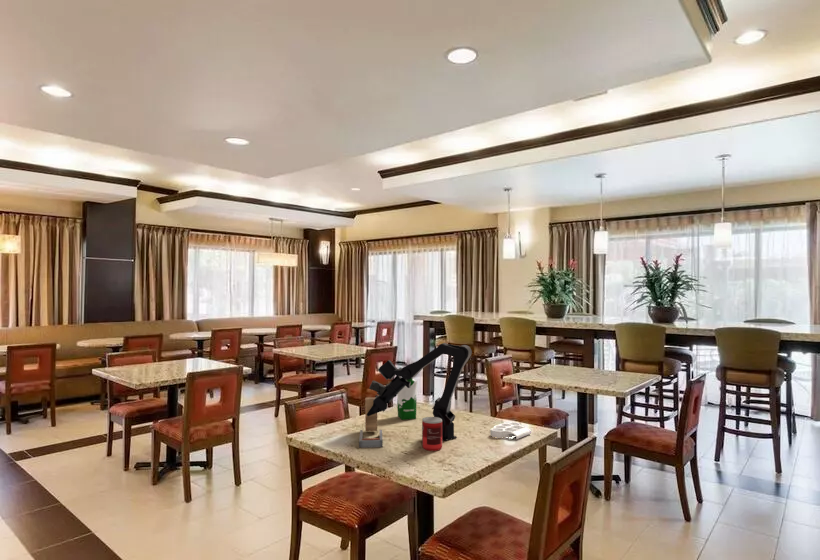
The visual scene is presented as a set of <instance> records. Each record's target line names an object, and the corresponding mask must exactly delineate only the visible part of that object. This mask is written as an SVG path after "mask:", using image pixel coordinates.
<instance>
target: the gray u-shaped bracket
mask: <svg viewBox="0 0 820 560" xmlns="http://www.w3.org/2000/svg"><path fill="white" fill-rule="evenodd" d="M363 435H364V430H363V429H360V430H359V439H358V440H359V441H358V448H360V447H361V448H384V447H383V446H384V444H383V442H384V440H383V429H379V438H378V437H375V438H374V437H373V438H367V437H366V438H365V437H363Z"/></svg>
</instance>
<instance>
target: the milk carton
mask: <svg viewBox="0 0 820 560" xmlns="http://www.w3.org/2000/svg"><path fill="white" fill-rule="evenodd" d="M407 381H408V382H411V383H410V386H411V387H410V388H407V387H406V386H405V387H404V388H403V389H402V390H401V391H400V392H399V393H398V394H397V396H396V398H397V399H396V400H397V403H396V404H397V406H396V407H397V417H398V418H399V419H400V420H402V421H406V420H416V419H417V394H418V393H417V384H418V381H417V380H416V379H414V378H412V379H409V380H407Z"/></svg>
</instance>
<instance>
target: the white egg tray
mask: <svg viewBox="0 0 820 560" xmlns="http://www.w3.org/2000/svg"><path fill="white" fill-rule="evenodd" d="M489 431H490V435H491V436H492V437H497V438H496V439H498V438H501V439H503V438H502V437H508V438H509V437H512V436H516V438H515V439H516V440H518V439H521V438H523V437H526V436H529V435H530V434H532V430H531V429H530V428H528V427H526V426H523V425H521V423H519V422H516V421H510V422H509V421H508V422H505V423H504V422H503V423H499V424H496V425H493V427H492V428H490V429H489ZM490 435H489V436H490ZM491 436H490V437H491ZM492 437H491V438H492ZM508 438H507V439H508Z"/></svg>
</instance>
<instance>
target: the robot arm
mask: <svg viewBox="0 0 820 560" xmlns="http://www.w3.org/2000/svg"><path fill="white" fill-rule="evenodd" d="M472 353H473V351H472V349H471V347H470V346H469V345H467V344H461V345H456V344H449V343H445V342H443V343H441V344H439V345H438V346H436V347H435V348H434V349H432V350H431V351H429V352H427V354H425V355H424V356H422V357H421V358H419V359H418V360H416V361H414V362H412V363H409V364H408V365H405V366H403V367H399V368H398V367H396V366H395V364H393V362H392V361H391V360H390V359H388V360H387V361H386V362H385V363H383V364H382V365H380V366H379V368H378V369H377V371H378V372H379V373H380V375H382V377H383V378H384V379H385V380H386V381H387V380H388V381H389V380H390V382H389V383H386V384H382V383H380V382H378V381H376V380H373V379H372V381H371V383H370V385H369V387H368V389H370V390H371V391H374V392H376V394H375V397H376V398H375V397H374V398H375V399H374V400H373V406H372V407H371V409H370V410H369V412H368V413H367V416H370V415H373V414H375V413H377V414H378V413H381V412H385V411H386V410H387V409H388V405H389V404H390V403H391V402H392V400H393V399H394V398H397V394H398V393H399V392H400V391H401V390H402V389H403V388H404V387H405V386H406V387H407V388H410V387H411V386H410V383H411V382H408V381H407V380H409V379H412V378H413V379H414V378H415V377H416V376H417V375H419V373H421V371H423V369H424V368H425V367H426V366H428V365H429V364H430V363H432V362H434V361H435V360H436V359H439V357H441V356H442V355H447V356H451V357H453V363H452V364H453V365H452V367H451V370H450V373H449V376H448V379H447V381H446V383H445V387H444V389H443V391H442V394H441V397H437V398H436V399H435V400H434V405H433V407H432V408H431V410H432V415H433V417H438V418H441V419H442V441H449V440H453V439H458V437H457V435H455V424H454V421H455V419H456V415H455V414H454V413H453V412H452V411H451V408H452V398H453V396H454V393H455V390H456V387H457V385H458V382H459V379H460V377H461V374H462V371H463V368H464V367H465V365H466V364H467V363H468V361H469V359H470V358H471V356H472Z"/></svg>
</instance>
